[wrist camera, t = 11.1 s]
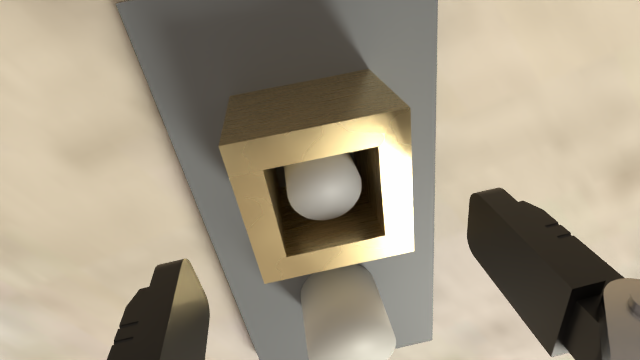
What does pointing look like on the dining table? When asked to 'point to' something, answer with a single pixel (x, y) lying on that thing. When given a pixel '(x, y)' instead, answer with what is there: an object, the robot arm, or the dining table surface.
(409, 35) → the stub plate
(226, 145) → the hollow square frame
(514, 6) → the dining table surface
